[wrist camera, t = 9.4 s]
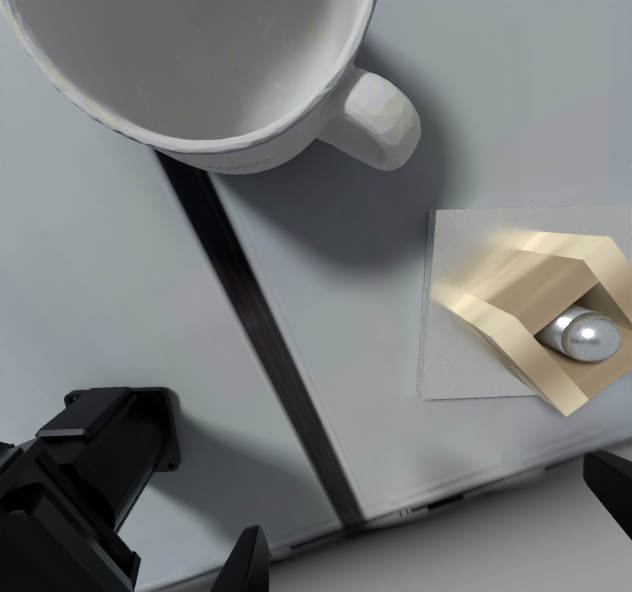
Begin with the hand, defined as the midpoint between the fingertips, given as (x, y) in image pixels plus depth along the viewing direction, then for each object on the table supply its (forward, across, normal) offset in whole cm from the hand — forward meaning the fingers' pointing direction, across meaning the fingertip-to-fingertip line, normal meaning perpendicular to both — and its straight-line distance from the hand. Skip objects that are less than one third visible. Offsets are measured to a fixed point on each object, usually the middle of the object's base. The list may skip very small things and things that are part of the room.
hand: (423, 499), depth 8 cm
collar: (+10, -11, 0) cm, 15 cm away
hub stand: (+11, -11, 0) cm, 15 cm away
